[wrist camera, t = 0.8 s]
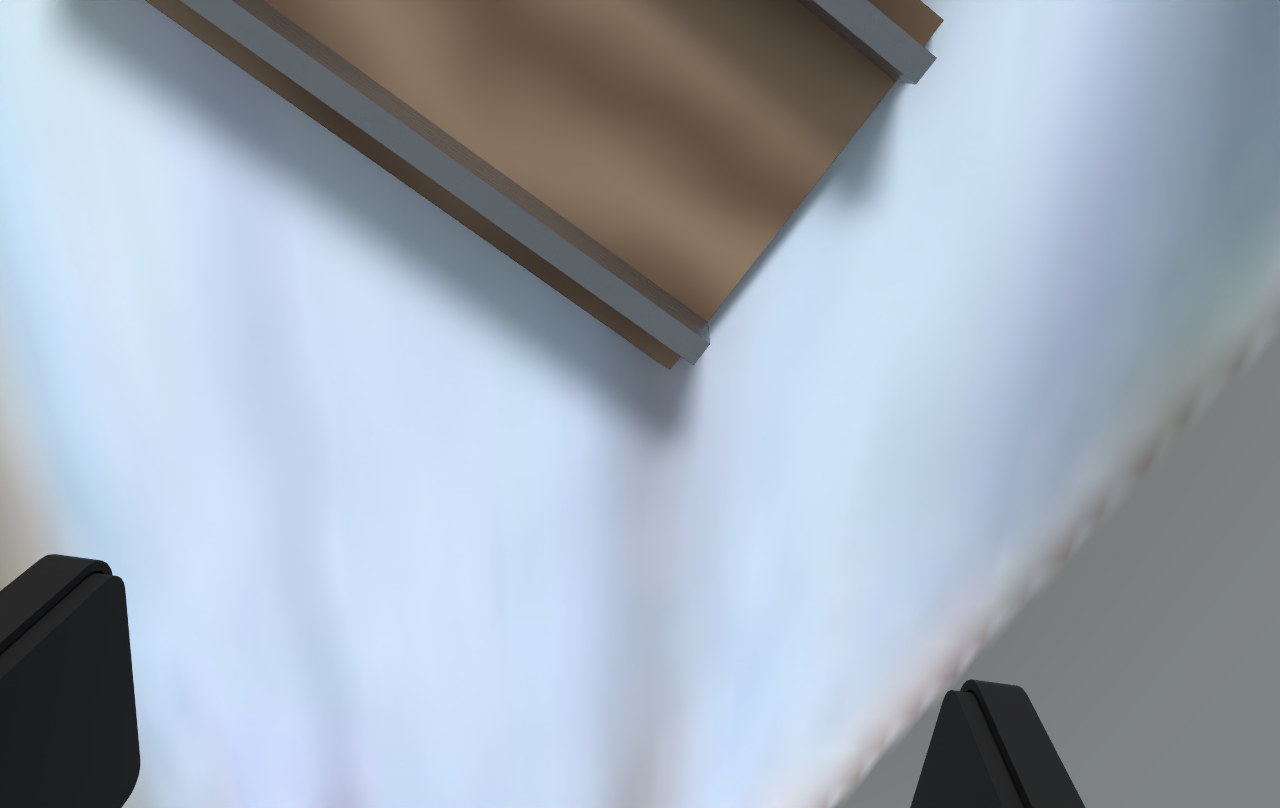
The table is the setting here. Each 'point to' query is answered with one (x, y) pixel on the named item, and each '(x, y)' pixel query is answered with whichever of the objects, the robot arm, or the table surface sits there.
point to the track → (592, 124)
